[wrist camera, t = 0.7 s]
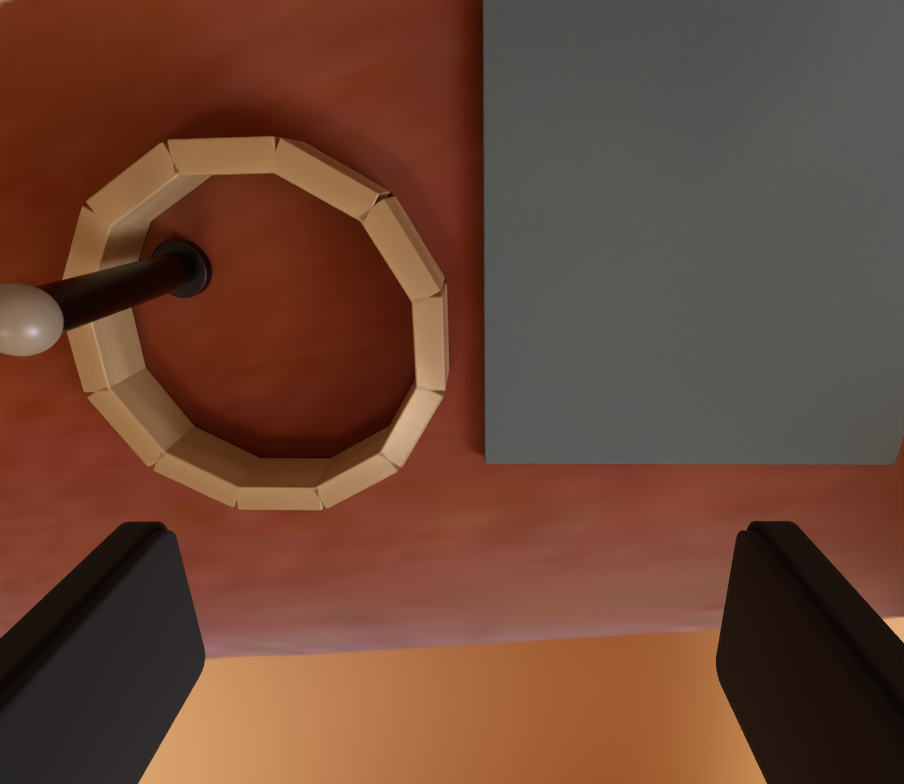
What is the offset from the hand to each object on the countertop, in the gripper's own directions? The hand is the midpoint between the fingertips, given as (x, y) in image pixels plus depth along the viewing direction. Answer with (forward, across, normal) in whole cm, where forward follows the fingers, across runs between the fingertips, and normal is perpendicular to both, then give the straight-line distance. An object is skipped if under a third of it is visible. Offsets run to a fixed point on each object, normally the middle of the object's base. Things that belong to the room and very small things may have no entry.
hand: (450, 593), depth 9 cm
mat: (+18, -11, -3) cm, 21 cm away
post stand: (+18, +13, -3) cm, 23 cm away
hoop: (+18, +10, 0) cm, 21 cm away
